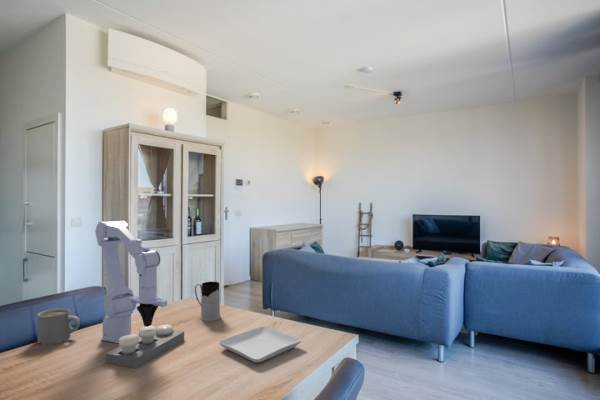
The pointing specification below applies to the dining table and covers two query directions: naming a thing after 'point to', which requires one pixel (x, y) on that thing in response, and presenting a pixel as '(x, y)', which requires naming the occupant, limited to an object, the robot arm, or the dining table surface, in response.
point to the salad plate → (260, 343)
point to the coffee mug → (55, 325)
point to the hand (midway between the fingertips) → (147, 325)
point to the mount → (144, 350)
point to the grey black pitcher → (209, 301)
